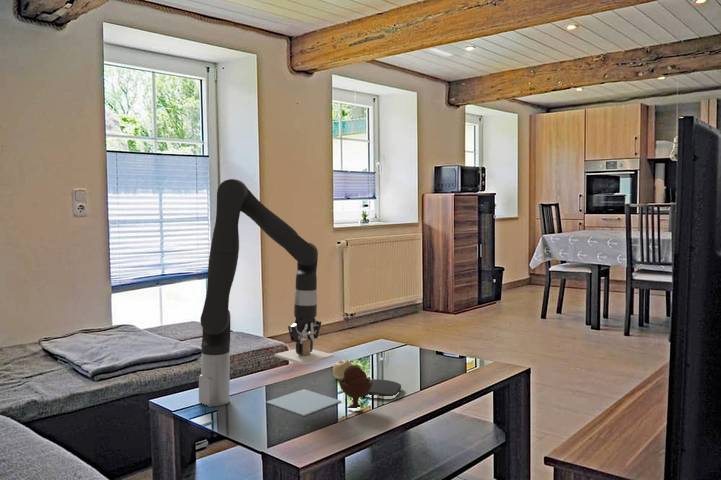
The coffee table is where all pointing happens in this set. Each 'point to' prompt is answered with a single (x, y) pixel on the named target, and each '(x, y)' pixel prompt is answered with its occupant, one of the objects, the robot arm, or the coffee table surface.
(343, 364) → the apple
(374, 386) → the media streaming box
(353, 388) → the ice cream bowl
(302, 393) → the rubber mat
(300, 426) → the coffee table surface
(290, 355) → the cover sheet
